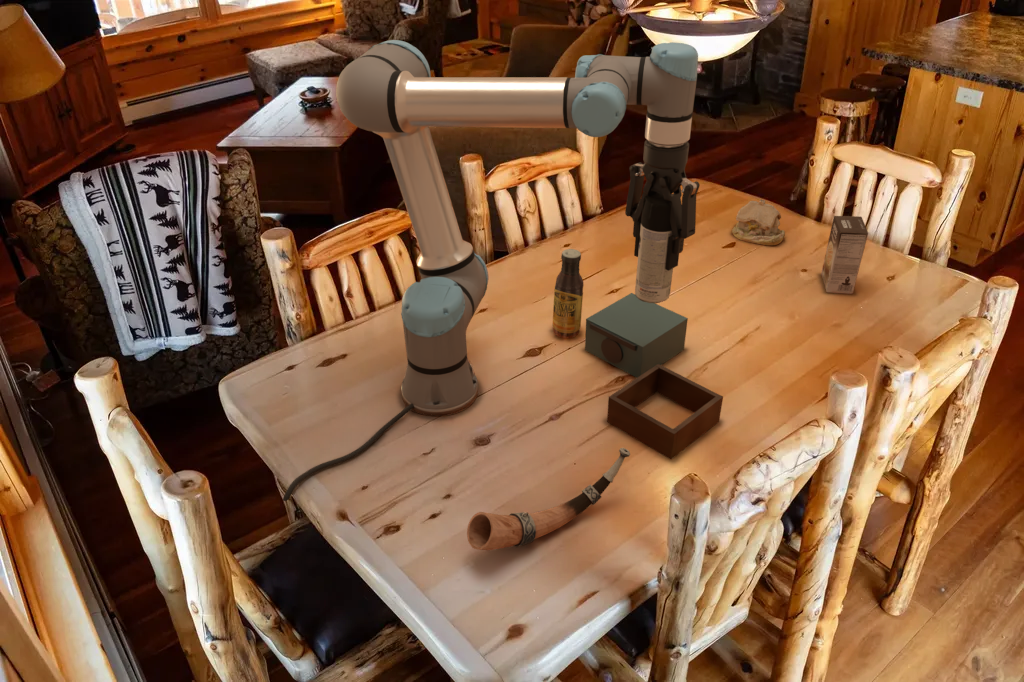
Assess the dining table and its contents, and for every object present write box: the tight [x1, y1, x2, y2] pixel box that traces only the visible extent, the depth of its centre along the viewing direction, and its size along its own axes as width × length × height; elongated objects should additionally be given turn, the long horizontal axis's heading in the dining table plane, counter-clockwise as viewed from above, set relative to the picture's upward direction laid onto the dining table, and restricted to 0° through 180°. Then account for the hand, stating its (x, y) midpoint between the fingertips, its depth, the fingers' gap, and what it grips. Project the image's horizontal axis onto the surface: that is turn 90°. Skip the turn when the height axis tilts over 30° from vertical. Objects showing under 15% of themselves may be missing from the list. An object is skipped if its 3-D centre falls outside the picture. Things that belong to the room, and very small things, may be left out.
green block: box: [584, 292, 689, 379], centre depth 170 cm, size 16×15×8 cm
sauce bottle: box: [551, 248, 584, 339], centre depth 173 cm, size 6×6×20 cm
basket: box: [606, 364, 724, 460], centre depth 150 cm, size 15×15×6 cm
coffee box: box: [820, 215, 869, 295], centre depth 189 cm, size 9×6×16 cm
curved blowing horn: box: [466, 447, 631, 551], centre depth 128 cm, size 6×30×10 cm, turn 121°
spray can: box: [634, 192, 674, 304], centre depth 148 cm, size 7×7×20 cm
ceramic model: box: [731, 199, 786, 246], centre depth 214 cm, size 14×11×10 cm
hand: (655, 260), depth 149 cm, fingers closed on spray can, 7 cm apart
